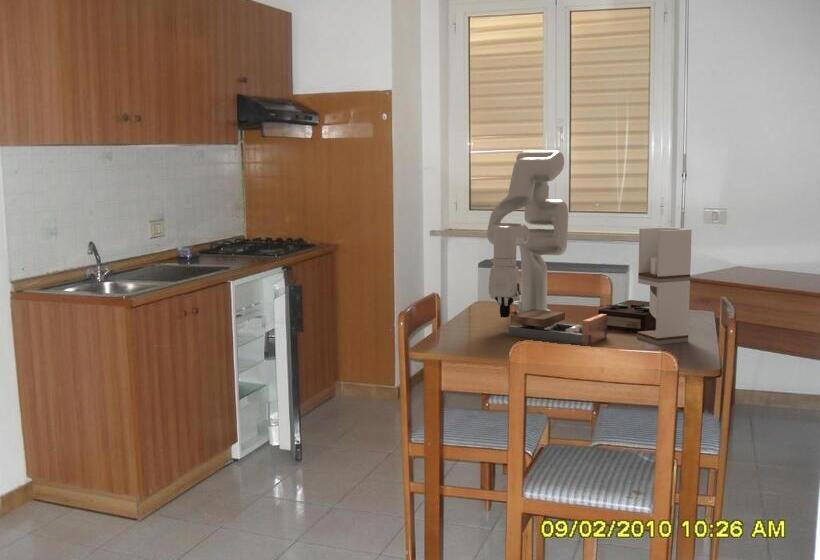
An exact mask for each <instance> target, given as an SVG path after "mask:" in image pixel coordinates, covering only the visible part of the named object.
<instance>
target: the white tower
mask: <svg viewBox="0 0 820 560" xmlns="http://www.w3.org/2000/svg"><path fill="white" fill-rule="evenodd" d="M692 231H693V230H692V229H690V228H689V229H688V228H683V227H673V226H672V227H667V226H666V227H665V226H664V227H649V228H647V227H645V228H639V232H638V233H639V235H638V275H637V276H638V280H637V281H638V283H637V284H641V285H646V286H649V302H650V307H649V310H650V313H651V315H652V316H653V317H654V318H656V330H652V331H641V332H637V333H636V339H639V340H642V341H645V342H648V343H651V344H654V345H657V346H658V345H666V344H676V343H677V344H678V343H686V342H689V327H690V326H689V325H690V320H689V319H690V291H691V289H690V288H691V267H692V266H691V263H692V262H691V259H692V258H691V257H692V234H693V233H692Z"/></svg>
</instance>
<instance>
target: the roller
mask: <svg viewBox="0 0 820 560" xmlns="http://www.w3.org/2000/svg"><path fill="white" fill-rule="evenodd" d="M575 325H576V326H573V327H570V328H567V329H565V330H564V332H572V333H581V334H582V326H583V324H575Z"/></svg>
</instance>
